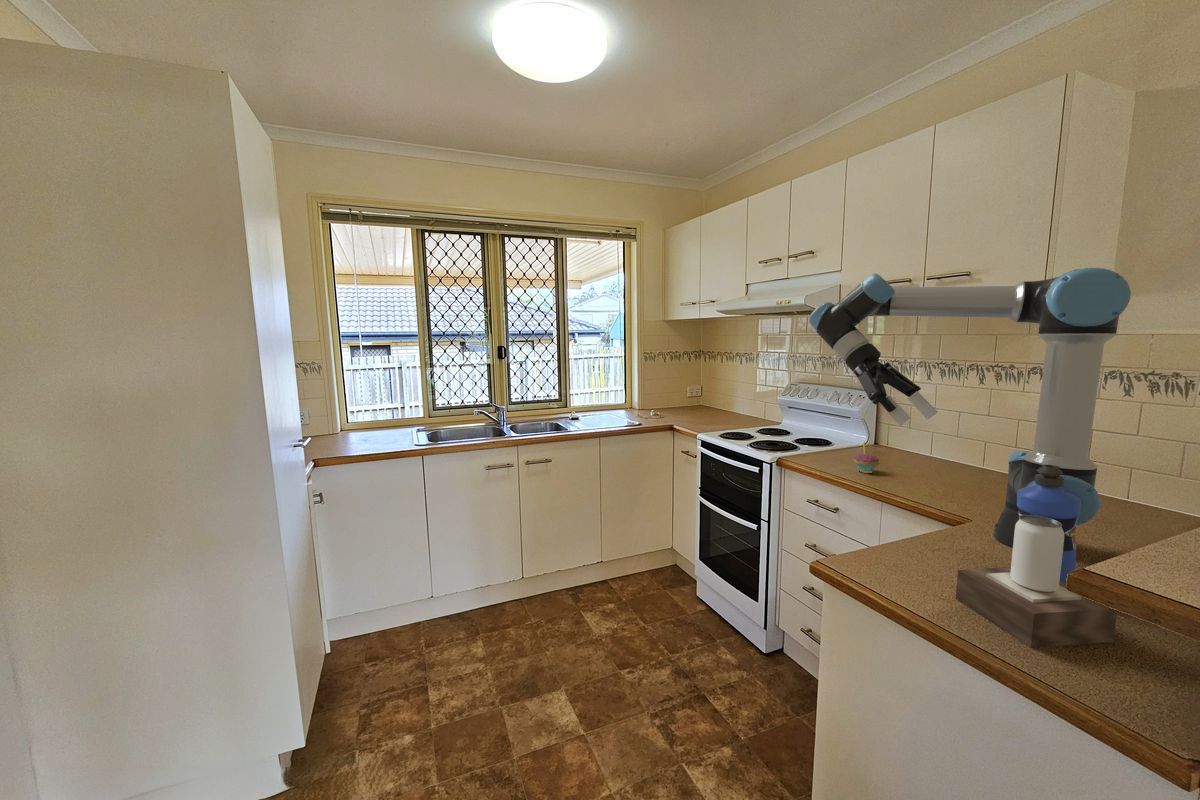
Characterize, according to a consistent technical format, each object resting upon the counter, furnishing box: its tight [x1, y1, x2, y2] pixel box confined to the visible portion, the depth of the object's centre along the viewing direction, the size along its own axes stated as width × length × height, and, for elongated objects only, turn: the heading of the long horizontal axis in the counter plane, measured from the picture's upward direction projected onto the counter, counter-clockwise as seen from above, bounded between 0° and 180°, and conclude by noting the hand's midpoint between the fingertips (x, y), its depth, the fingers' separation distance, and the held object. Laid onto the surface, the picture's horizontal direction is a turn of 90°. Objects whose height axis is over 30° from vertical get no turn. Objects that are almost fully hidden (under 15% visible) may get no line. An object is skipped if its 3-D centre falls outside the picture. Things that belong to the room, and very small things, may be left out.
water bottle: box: [1017, 465, 1081, 583], centre depth 96 cm, size 9×9×25 cm
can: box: [1010, 515, 1064, 593], centre depth 84 cm, size 6×6×12 cm
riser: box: [955, 566, 1118, 649], centre depth 85 cm, size 15×15×7 cm
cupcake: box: [853, 441, 880, 472], centre depth 180 cm, size 9×8×12 cm
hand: (919, 418), depth 108 cm, fingers open, 13 cm apart
